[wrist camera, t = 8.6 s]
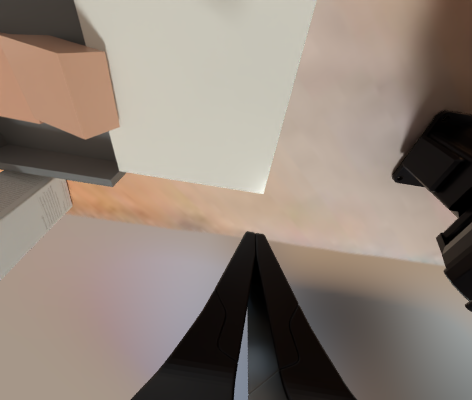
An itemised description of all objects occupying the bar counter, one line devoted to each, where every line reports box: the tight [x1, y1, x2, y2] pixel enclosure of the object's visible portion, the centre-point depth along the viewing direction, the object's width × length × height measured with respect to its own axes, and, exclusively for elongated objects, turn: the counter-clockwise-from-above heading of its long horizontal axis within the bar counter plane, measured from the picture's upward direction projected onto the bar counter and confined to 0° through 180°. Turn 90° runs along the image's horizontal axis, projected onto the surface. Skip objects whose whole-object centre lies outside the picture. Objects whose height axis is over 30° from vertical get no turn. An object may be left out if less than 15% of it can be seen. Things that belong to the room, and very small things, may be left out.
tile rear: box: [0, 32, 44, 124], centre depth 16 cm, size 5×5×3 cm
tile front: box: [0, 34, 120, 140], centre depth 15 cm, size 5×5×3 cm
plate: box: [74, 0, 317, 194], centre depth 16 cm, size 14×14×2 cm
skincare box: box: [0, 170, 72, 280], centre depth 20 cm, size 6×4×12 cm
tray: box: [0, 0, 126, 187], centre depth 16 cm, size 13×16×4 cm
